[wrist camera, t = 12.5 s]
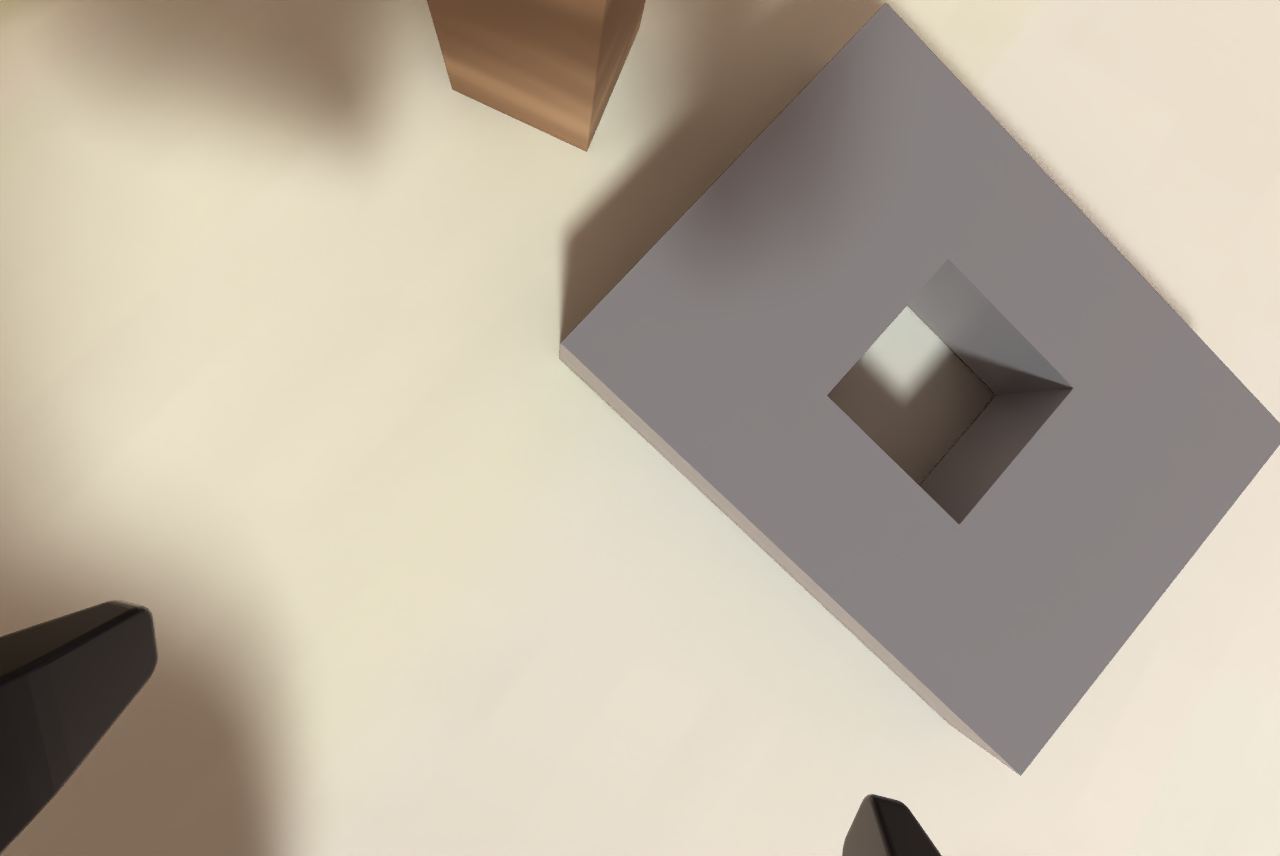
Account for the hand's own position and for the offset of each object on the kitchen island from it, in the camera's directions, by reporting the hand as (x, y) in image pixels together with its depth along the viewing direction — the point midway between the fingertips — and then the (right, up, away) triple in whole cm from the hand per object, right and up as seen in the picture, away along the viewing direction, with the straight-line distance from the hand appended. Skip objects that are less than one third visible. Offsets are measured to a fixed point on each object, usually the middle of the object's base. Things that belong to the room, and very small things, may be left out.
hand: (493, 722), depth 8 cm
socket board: (+9, +4, +12) cm, 16 cm away
